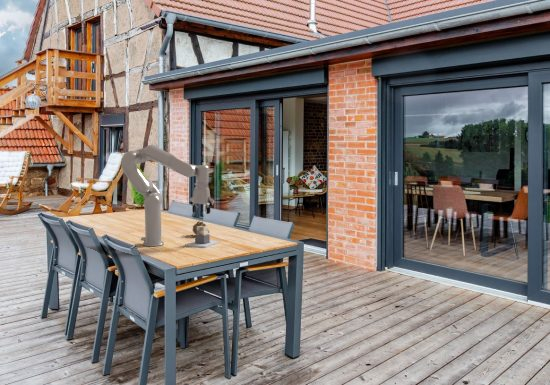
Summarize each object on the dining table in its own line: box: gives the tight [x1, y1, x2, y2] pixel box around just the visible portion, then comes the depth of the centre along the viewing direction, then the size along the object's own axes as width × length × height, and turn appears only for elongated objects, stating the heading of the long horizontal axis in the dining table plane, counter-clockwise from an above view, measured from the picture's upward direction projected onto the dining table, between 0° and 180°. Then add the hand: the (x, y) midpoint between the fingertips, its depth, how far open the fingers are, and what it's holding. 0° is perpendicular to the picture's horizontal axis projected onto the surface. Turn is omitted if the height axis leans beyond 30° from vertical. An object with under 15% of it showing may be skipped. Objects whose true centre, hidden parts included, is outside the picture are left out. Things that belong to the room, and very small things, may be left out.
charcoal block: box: [194, 233, 211, 244], centre depth 300 cm, size 6×6×5 cm
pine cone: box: [191, 221, 210, 235], centre depth 326 cm, size 22×10×10 cm, turn 37°
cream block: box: [197, 225, 209, 236], centre depth 299 cm, size 5×5×5 cm
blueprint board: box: [184, 239, 220, 249], centre depth 300 cm, size 14×18×1 cm
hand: (201, 213), depth 298 cm, fingers open, 9 cm apart
